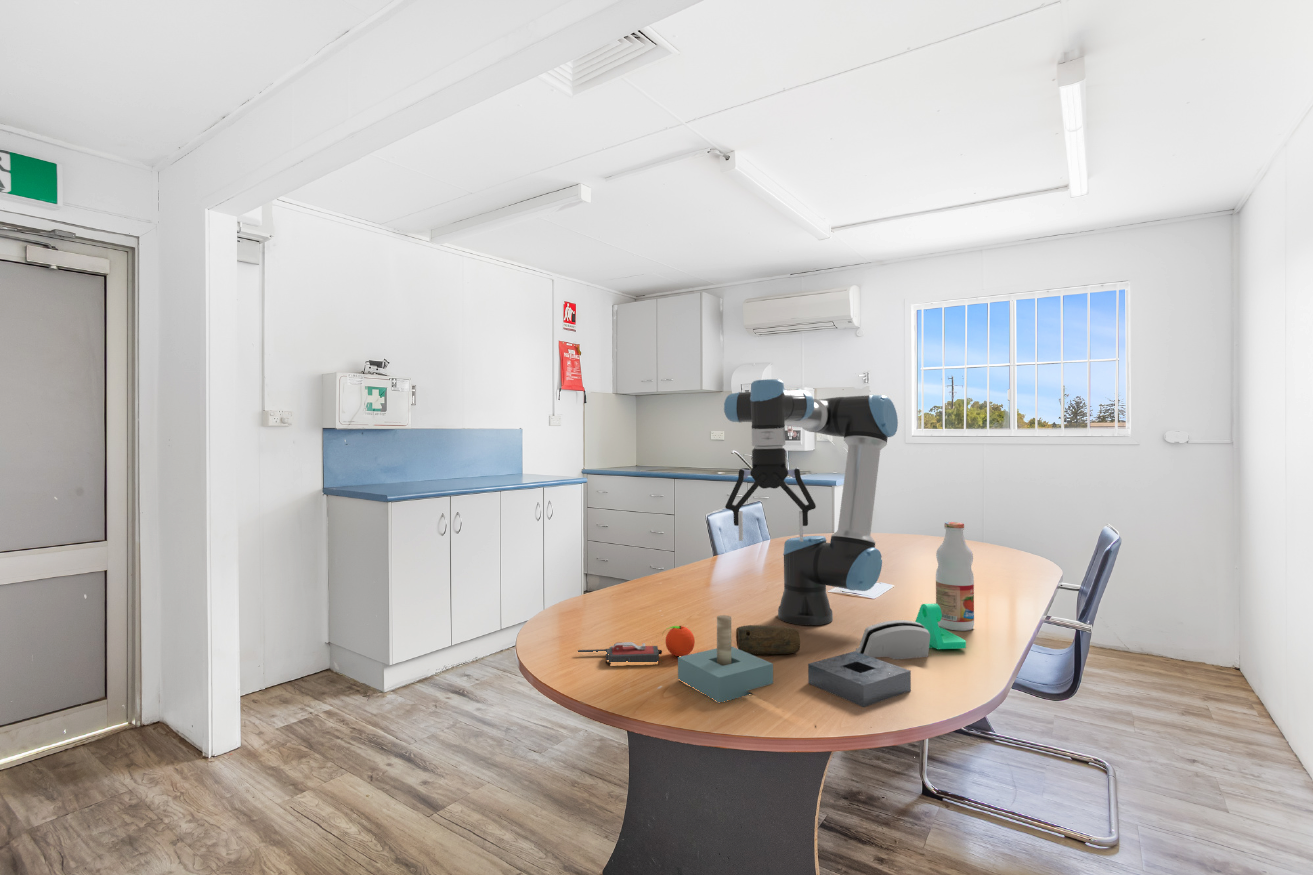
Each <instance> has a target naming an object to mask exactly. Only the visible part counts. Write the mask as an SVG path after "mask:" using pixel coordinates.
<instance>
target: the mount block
mask: <svg viewBox="0 0 1313 875" xmlns="http://www.w3.org/2000/svg"><path fill="white" fill-rule="evenodd" d="M807 666H808V668H807V670H808V671H807V676H808V678H807V683H808V685H811V686H814V687H816V688H818V689H821V690H823V691H824V692H828V693H830V694H832V695H834V696H836V697H839V698H842V699H843V700H846V701H848V702H851V703H853V704H856V705H857V706H860V707H862V708H866V707H868V706H871V705H874V704H877V703H881V702H883V701H886V700H889V699H891V698H895V697H897V696H900V695H903V694H906V693H909V692H911V691H912V690H911V687H912V682H911V680H912V678H911V677H912V676H911V675H912V674H911V670H910V669H907V668H904V667H902V666H899V665H895V664H892V663H889V662H887V661H884V660H881V659H878V658H872V657H870V656H867V655H864V654H861V653H858V652H855V650H853V651H850V652H846V653H843V654H839V655H835V656H832V657H828V658H824V659H821V660H816V661H813V662H810V663H808V665H807Z"/></svg>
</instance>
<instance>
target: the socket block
mask: <svg viewBox="0 0 1313 875" xmlns="http://www.w3.org/2000/svg"><path fill="white" fill-rule="evenodd" d="M678 679H680V680H681V681H683V682H685V683H687V684H688V685H690V686H691V687H694V688H695V689H697V690H699V691H700V692H702V693H704V694H706V695H707V696H709V697H710V698H713V699H714V700H716V701H717V702H716V701H715V702H716V703H718V702H723V703H725V702H724V701H726V702H728V701H727V700H730V701H733V700H736V699H735V698H737V699H739V697H740V698H742V696H744V697H748V696H750V695H749V694H751V695H753V693H752V692H750V691H751V690H755V689H759V688H761V687H765V686H769V685H772V684H774V664H773V662H770V661H768V660H765V659H763V658H761V657H758V656H756V655H755V654H749V653H746V652H744V651H742V650H739V649H738V647H734V646H732V645H731V664H729V665H725V666H722V665H720V664H718V663H717V647H716V648H711V649H708V650H704V651H698V652H695V653H691V654H690V653H689V654H688V655H685V656H681V657H677V680H678ZM707 696H706V697H707ZM710 698H709V699H710ZM732 699H733V700H732ZM714 700H713V701H714Z"/></svg>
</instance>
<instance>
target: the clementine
mask: <svg viewBox="0 0 1313 875" xmlns="http://www.w3.org/2000/svg"><path fill="white" fill-rule="evenodd" d="M668 629H669V631H668V632H667V633H666V636H665V647H666V649H667V650H668V652H669V653H670V654H671V655H673V656H674V655H675V656H674V657H677V656H685V655H690V653H691V652H693V649H694V648H695V644H696V641H695V636H694V634H693V632H692V631H691V630H690V629H689V628H688V627H686V626H684V625H674V626H669V627H667V628H666V630H668ZM664 633H665V631H663V632H662V636H663V635H664Z"/></svg>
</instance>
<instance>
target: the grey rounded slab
mask: <svg viewBox="0 0 1313 875" xmlns="http://www.w3.org/2000/svg"><path fill="white" fill-rule="evenodd" d="M929 642H930V633H929V632H928V630H927V629H925V627H924V626H923V625H921V624H920V623H917V622H915V621H912V620H907V619H904V620H903V619H902V620H901V619H896V620H887V621H886V620H885V621H882V622H879V623H876V624H872V625H869V626H867V627H866V628H865V630H864V632H863V634H862V638H861V641H860V643H859V647H858V648H855V650H854V651H855V652H858V653H861V654H864V655H867V656H870V657H872V658H875V659H877V658H884V657H885V658H886V657H887V658H890V659H893V660H905V659H907V660H908V659H918V658H926V657H929V650H930V648H929Z"/></svg>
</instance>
